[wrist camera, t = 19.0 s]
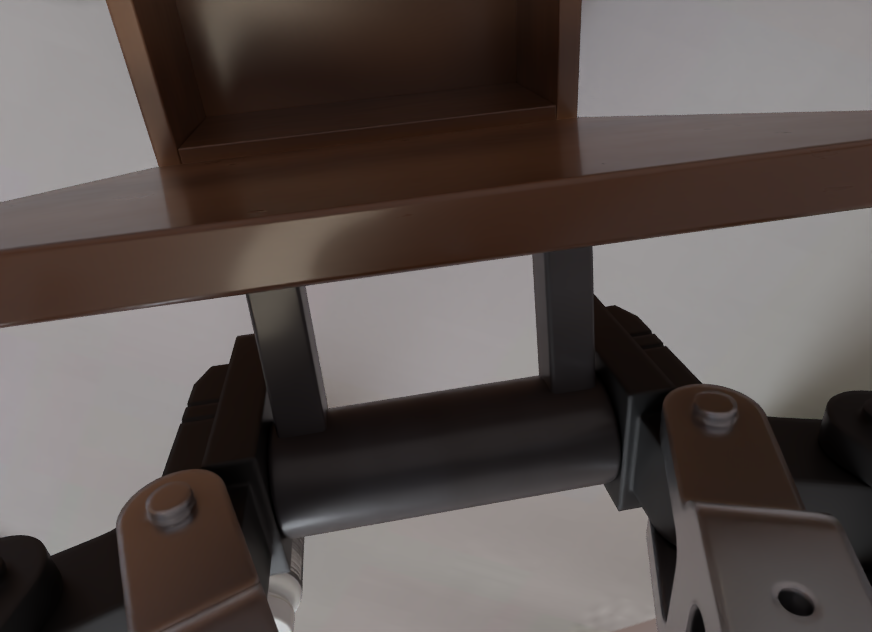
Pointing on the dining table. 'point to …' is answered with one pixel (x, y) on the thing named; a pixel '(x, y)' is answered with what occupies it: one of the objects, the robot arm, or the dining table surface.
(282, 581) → the pill bottle
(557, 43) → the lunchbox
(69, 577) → the robot arm
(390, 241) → the lid
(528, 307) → the dining table surface
